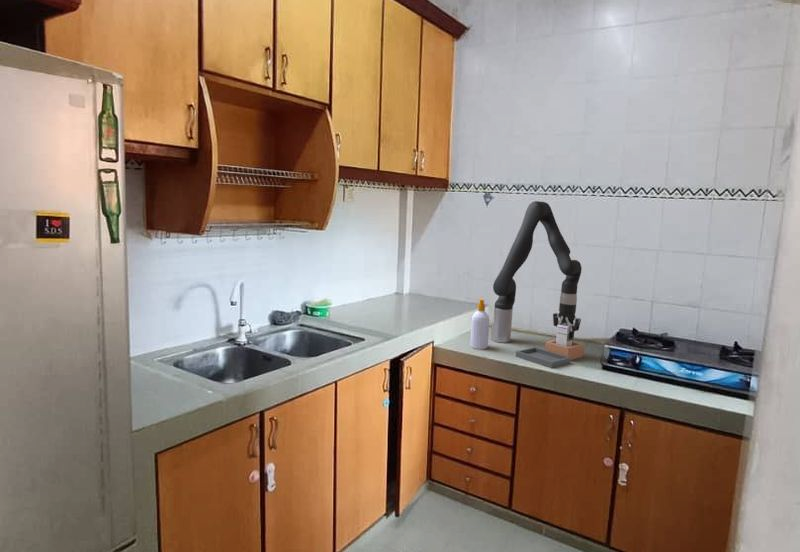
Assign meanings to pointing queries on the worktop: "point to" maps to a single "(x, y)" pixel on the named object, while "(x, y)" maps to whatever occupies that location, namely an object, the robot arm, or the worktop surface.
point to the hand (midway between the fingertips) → (565, 337)
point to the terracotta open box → (566, 349)
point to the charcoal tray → (543, 357)
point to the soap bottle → (480, 327)
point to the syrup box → (563, 336)
